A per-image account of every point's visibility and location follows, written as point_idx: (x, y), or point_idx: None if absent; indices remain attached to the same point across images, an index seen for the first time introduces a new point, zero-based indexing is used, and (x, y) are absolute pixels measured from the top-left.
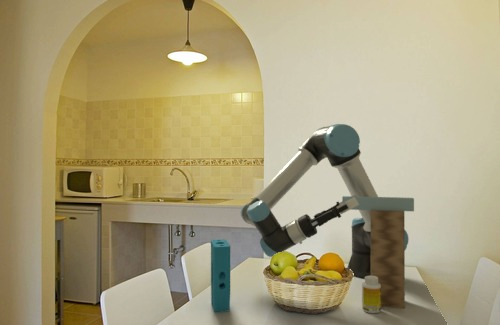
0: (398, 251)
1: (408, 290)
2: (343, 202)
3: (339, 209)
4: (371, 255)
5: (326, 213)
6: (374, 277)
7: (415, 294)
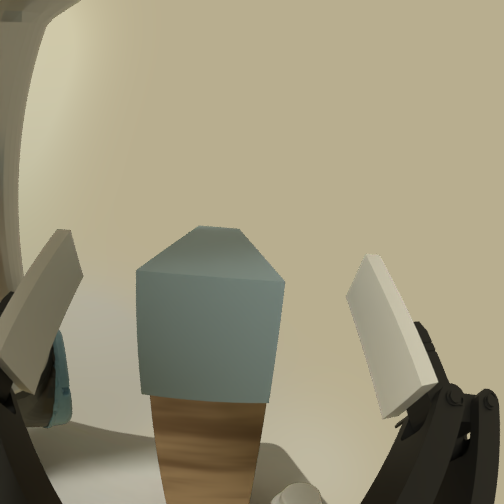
0: None
1: (107, 452)
2: (274, 336)
3: (439, 379)
4: (255, 466)
5: (497, 457)
6: (298, 489)
7: (134, 450)
